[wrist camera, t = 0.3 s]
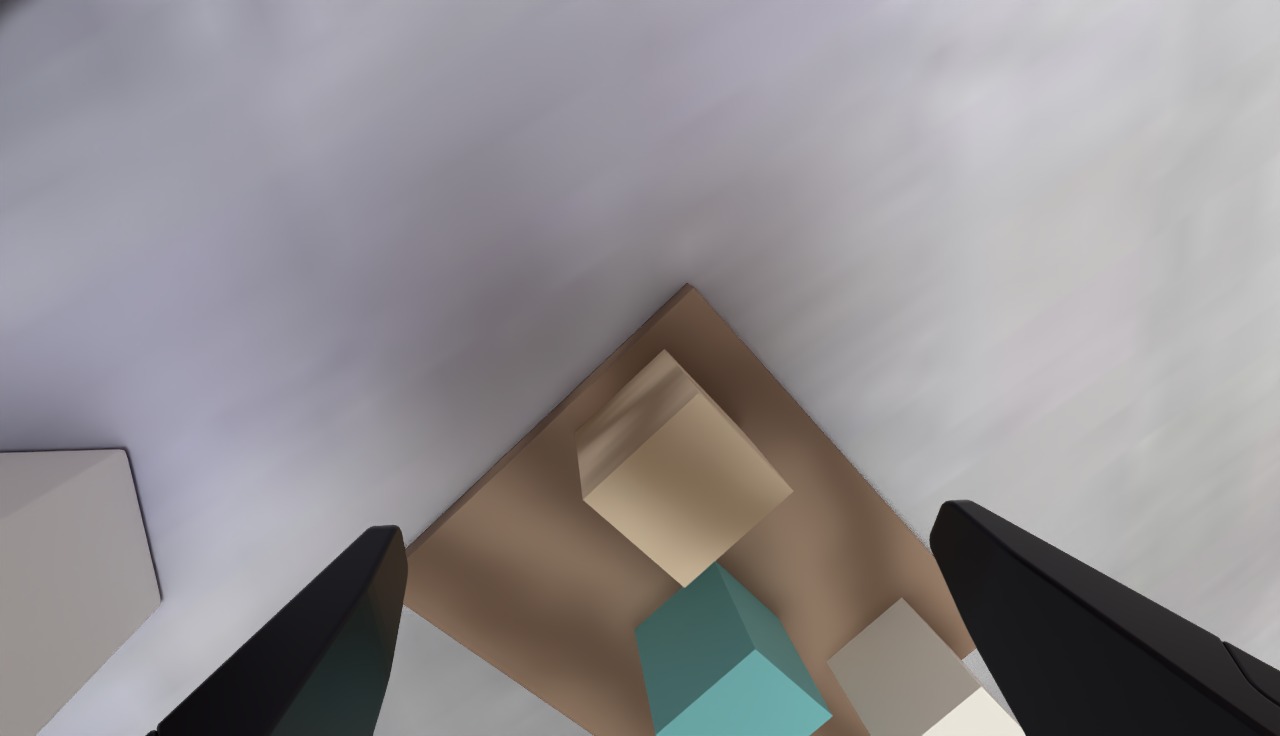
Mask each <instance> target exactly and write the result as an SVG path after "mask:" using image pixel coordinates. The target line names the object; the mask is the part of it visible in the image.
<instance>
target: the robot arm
mask: <svg viewBox="0 0 1280 736" xmlns="http://www.w3.org/2000/svg"><path fill="white" fill-rule="evenodd" d="M929 540H930V547H931V550H932V553H933V555H934V557H935V559H936V562H937V564H938V566H939V568H940V571H941V573H942V575H943V577H944V580H945V582H946V584H947V586H948V589H949V591H950V593H951V596H952V598H953V600H954V602H955V605H956V607H957V609H958V611H959V614H960V616H961V618H962V620H963V622H964V624H965V626H966V629H967V631H968V633H969V635H970V637H971V638H972V640H973V642H974V644H975V646H976V648H977V650H978V651H979V653H980V655H981V657H982V658H983V660H984V662H985V664H986V666H987V667H988V669H989V671H990V673H991V674H992V676H993V678H994V680H995V682H996V683H997V685H998V687H999V689H1000V691H1001V692H1002V694H1003V696H1004V698H1005V699H1006V701H1007V703H1008V705H1009V707H1010V708H1011V710H1012V712H1013V714H1014V715H1015V717H1016V719H1017V721H1018V723H1019V724H1020V726H1021V728H1022V730H1023V732H1024V733H1025V735H1026V736H1280V671H1279V670H1277V669H1275V668H1273V667H1272V666H1270V665H1268V664H1266V663H1264V662H1262V661H1261V660H1259V659H1257V658H1255V657H1253V656H1251V655H1250V654H1248V653H1246V652H1244V651H1242V650H1241V649H1239V648H1237V647H1235V646H1233V645H1232V644H1230V643H1228V642H1225V641H1223V642H1222V641H1221V640H1220V638H1219V637H1217V636H1215V635H1213V634H1212V633H1210V632H1208V631H1206V630H1204V629H1203V628H1201V627H1199V626H1197V625H1195V624H1193V623H1192V622H1190V621H1188V620H1186V619H1184V618H1183V617H1181V616H1179V615H1177V614H1175V613H1174V612H1172V611H1170V610H1168V609H1166V608H1165V607H1163V606H1161V605H1159V604H1157V603H1155V602H1154V601H1152V600H1150V599H1148V598H1146V597H1145V596H1143V595H1141V594H1139V593H1137V592H1136V591H1134V590H1132V589H1130V588H1128V587H1127V586H1125V585H1123V584H1121V583H1119V582H1117V581H1116V580H1114V579H1112V578H1110V577H1108V576H1107V575H1105V574H1103V573H1101V572H1099V571H1098V570H1096V569H1094V568H1092V567H1090V566H1089V565H1087V564H1085V563H1083V562H1081V561H1079V560H1078V559H1076V558H1074V557H1072V556H1070V555H1069V554H1067V553H1065V552H1063V551H1061V550H1060V549H1058V548H1056V547H1054V546H1052V545H1051V544H1049V543H1047V542H1045V541H1043V540H1042V539H1040V538H1038V537H1036V536H1034V535H1032V534H1031V533H1029V532H1027V531H1025V530H1023V529H1022V528H1020V527H1018V526H1016V525H1014V524H1013V523H1011V522H1009V521H1007V520H1005V519H1004V518H1002V517H1000V516H998V515H996V514H995V513H993V512H991V511H989V510H987V509H985V508H984V507H982V506H980V505H978V504H976V503H975V502H973V501H970V500H950V501H946V502H945V503H944V504H942V506H941V508H940V510H939V513H938V515H937V518H936V521H935V523H934V526H933V528H932V531H931V533H930V539H929ZM407 578H408V561H407V556H406V551H405V547H404V542H403V537H402V532H401V530H400V528H399V527H398V526H396V525H386V526H373V527H370V528H368V529H367V530H366V531H365V532H364V533H363V534H362V535H360V536H359V537H358V538H357V539H356V540H355V541H354V542H353V543H352V544H351V545H350V546H349V547H348V548H347V549H345V550H344V551H343V552H342V553H341V554H340V555H339V556H338V557H337V558H336V559H335V560H334V561H333V562H331V563H330V564H329V565H328V566H327V567H326V568H325V569H324V570H323V571H322V572H321V573H320V574H319V575H318V576H316V577H315V578H314V579H313V580H312V581H311V582H310V583H309V584H308V585H307V586H306V587H305V588H304V589H303V590H301V591H300V592H299V593H298V594H297V595H296V596H295V597H294V598H293V599H292V600H291V601H290V602H289V603H288V604H286V605H285V606H284V607H283V608H282V609H281V610H280V611H279V612H278V613H277V614H276V615H275V616H274V617H273V618H271V619H270V620H269V621H268V622H267V623H266V624H265V625H264V626H263V627H262V628H261V629H260V630H259V631H258V632H256V633H255V634H254V635H253V636H252V637H251V638H250V639H249V640H248V641H247V642H246V643H245V644H244V645H243V646H241V647H240V648H239V649H238V650H237V651H236V652H235V653H234V654H233V655H232V656H231V657H230V658H229V659H228V660H226V661H225V662H224V663H223V664H222V665H221V666H220V667H219V668H218V669H217V670H216V671H215V672H214V673H213V674H211V675H210V676H209V677H208V678H207V679H206V680H205V681H204V682H203V683H202V684H201V685H200V686H199V687H198V688H196V689H195V690H194V691H193V692H192V693H191V694H190V695H189V696H188V697H187V698H186V699H185V700H184V701H183V702H181V703H180V704H179V705H178V706H177V707H176V708H175V709H174V710H173V711H172V712H171V713H170V714H169V715H168V716H166V717H165V718H164V719H163V720H162V721H161V722H160V723H159V724H158V726H157V731H156V730H152V731H150V732H149V733H148V734H147V735H146V736H373V733H374V730H375V726H376V723H377V719H378V716H379V713H380V709H381V706H382V703H383V699H384V696H385V692H386V689H387V685H388V681H389V677H390V672H391V667H392V662H393V657H394V651H395V646H396V640H397V635H398V629H399V623H400V618H401V612H402V607H403V601H404V595H405V590H406V584H407Z"/></svg>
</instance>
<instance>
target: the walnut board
mask: <svg viewBox="0 0 1280 736" xmlns="http://www.w3.org/2000/svg"><path fill="white" fill-rule="evenodd" d="M664 349H665V350H666V351H667V352H668V353H669V354H670V355H671V356H672V357H673V358H674V359H675V360H676V361H677V362H678V363H679V365H680V366H681V367H682V368H683V369H684V370H685V371H686V372H687V373H688V374H689V375H690V376H691V377H692V378H693V379H694V380H695V381H696V382H697V383H698V384H699V385H700V386H701V388H702V389H703V390H704V391H705V392H706V393H707V394H708V395H709V396H710V397H711V398H712V399H713V400H714V401H715V402H716V403H717V404H718V405H719V406H720V407H721V408H722V410H723V411H724V412H725V413H726V414H727V415H728V416H729V417H730V418H731V419H732V420H733V421H734V422H735V423H736V424H737V425H738V426H739V427H740V428H741V429H742V431H743V432H744V433H745V434H746V435H747V437H748V438H749V439H750V440H751V441H752V442H753V444H754V445H755V446H756V447H757V448H758V450H759V451H760V452H761V453H762V454H763V455H764V457H765V458H766V459H767V460H768V461H769V463H770V464H771V465H772V466H773V467H774V468H775V470H776V471H777V472H778V473H779V474H780V476H781V477H782V478H783V479H784V480H785V481H786V483H787V484H788V485H789V486H790V487H791V489H792V490H793V491H794V492H792V493H791V494H790V495H789V496H788V497H787V498H786V499H784V500H783V501H782V502H781V503H780V504H779V505H778V506H777V507H775V508H774V509H773V510H772V511H771V512H770V513H769V514H768V515H766V516H765V517H764V518H763V519H762V520H761V521H760V522H759V523H757V524H756V525H755V526H754V527H753V528H752V529H751V530H749V531H748V532H747V533H746V534H745V535H744V536H743V537H742V538H740V539H739V540H738V541H737V542H736V543H735V544H734V545H733V546H731V547H730V548H729V549H728V550H727V551H726V552H725V553H724V554H722V555H721V556H720V557H719V558H718V559H717V560H716V562H717V563H718V564H720V565H721V566H722V567H723V568H724V569H725V570H726V571H727V572H728V573H729V574H731V575H732V576H733V577H734V578H735V579H736V580H737V581H738V582H739V583H740V584H742V585H743V586H744V587H745V588H746V589H747V590H748V591H749V592H750V593H751V594H753V595H754V596H755V597H756V598H757V599H758V600H759V601H760V602H761V603H762V604H763V605H765V606H766V607H767V608H768V609H769V610H770V611H771V612H772V613H773V614H774V615H776V616H777V617H778V618H779V620H780V621H781V623H782V625H783V627H784V629H785V630H786V632H787V634H788V636H789V638H790V639H791V641H792V643H793V645H794V647H795V649H796V650H797V652H798V654H799V656H800V658H801V659H802V661H803V663H804V665H805V667H806V668H807V670H808V672H809V674H810V676H811V677H812V679H813V681H814V683H815V685H816V686H817V688H818V690H819V692H820V694H821V696H822V697H823V699H824V701H825V703H826V705H827V706H828V708H829V710H830V712H831V714H832V715H833V716H832V717H831V718H830V719H829V720H828V721H826V722H825V723H824V724H823V725H822V726H820V727H819V728H818V729H817V730H816V731H814V732H813V733H812V734H811V735H810V736H870V733H869V732H868V730H867V728H866V727H865V725H864V724H863V722H862V720H861V719H860V717H859V715H858V714H857V712H856V710H855V709H854V707H853V705H852V704H851V702H850V700H849V699H848V697H847V695H846V694H845V692H844V690H843V689H842V687H841V685H840V684H839V682H838V680H837V679H836V677H835V675H834V674H833V672H832V671H831V669H830V667H829V666H828V664H827V662H826V661H827V660H828V659H830V658H831V657H832V656H833V655H834V654H836V653H837V652H838V651H839V650H840V649H841V648H843V647H844V646H845V645H846V644H847V643H849V642H850V641H851V640H852V639H853V638H854V637H856V636H857V635H858V634H859V633H860V632H862V631H863V630H864V629H865V628H866V627H867V626H869V625H870V624H871V623H872V622H873V621H874V620H876V619H877V618H878V617H879V616H880V615H882V614H883V613H884V612H885V611H886V610H887V609H889V608H890V607H891V606H892V605H893V604H895V603H896V602H897V601H898V600H899V599H900V598H903V599H904V600H905V601H906V602H907V603H908V604H909V605H910V606H911V607H912V608H913V609H914V611H915V612H916V613H917V614H918V615H919V616H920V617H921V618H922V619H923V620H924V621H925V622H926V623H927V624H928V625H929V626H930V627H931V628H932V629H933V630H934V631H935V633H936V634H937V635H938V636H939V637H940V638H941V639H942V640H943V641H944V642H945V643H946V644H947V645H948V646H949V647H950V648H951V649H952V650H953V651H954V653H955V654H956V655H957V656H958V657H959V658H960V659H961V660H962V659H963V658H965V657H966V656H967V655H968V654H969V653H971V652H972V651H973V650H974V649H976V646H975V644H974V642H973V640H972V638H971V637H970V635H969V633H968V631H967V629H966V626H965V624H964V622H963V620H962V618H961V616H960V614H959V611H958V609H957V607H956V605H955V602H954V600H953V598H952V596H951V593H950V591H949V589H948V586H947V584H946V582H945V580H944V577H943V575H942V573H941V571H940V568H939V566H938V564H937V562H936V559H935V558H934V557H933V555H932V554H931V553H930V552H929V551H928V550H927V549H926V548H925V546H924V545H923V544H922V543H921V542H920V541H919V540H918V539H917V537H916V536H915V535H914V534H913V533H912V532H911V531H910V530H909V528H908V527H907V526H906V525H905V524H904V523H903V522H902V521H901V519H900V518H899V517H898V516H897V515H896V514H895V513H894V512H893V510H892V509H891V508H890V507H889V506H888V505H887V504H886V503H885V501H884V500H883V499H882V498H881V497H880V496H879V495H878V494H877V492H876V491H875V490H874V489H873V488H872V487H871V486H870V485H869V483H868V482H867V481H866V480H865V479H864V478H863V477H862V476H861V474H860V473H859V472H858V471H857V470H856V469H855V468H854V467H853V465H852V464H851V463H850V462H849V461H848V460H847V459H846V458H845V456H844V455H843V454H842V453H841V452H840V451H839V450H838V449H837V447H836V446H835V445H834V444H833V443H832V442H831V441H830V440H829V438H828V437H827V436H826V435H825V434H824V433H823V432H822V431H821V429H820V428H819V427H818V426H817V425H816V424H815V423H814V422H813V420H812V419H811V418H810V417H809V416H808V415H807V414H806V413H805V411H804V410H803V409H802V408H801V407H800V406H799V405H798V404H797V402H796V401H795V400H794V399H793V398H792V397H791V396H790V395H789V393H788V392H787V391H786V390H785V389H784V388H783V387H782V386H781V384H780V383H779V382H778V381H777V380H776V379H775V378H774V377H773V375H772V374H771V373H770V372H769V371H768V370H767V369H766V368H765V366H764V365H763V364H762V363H761V362H760V361H759V360H758V359H757V357H756V356H755V355H754V354H753V353H752V352H751V351H750V350H749V348H748V347H747V346H746V345H745V344H744V343H743V342H742V341H741V339H740V338H739V337H738V336H737V335H736V334H735V333H734V332H733V330H732V329H731V328H730V327H729V326H728V325H727V324H726V323H725V321H724V320H723V319H722V318H721V317H720V316H719V315H718V314H717V312H716V311H715V310H714V309H713V308H712V307H711V306H710V305H709V303H708V302H707V301H706V300H705V299H704V298H703V297H702V296H701V294H700V293H699V292H698V291H697V290H696V289H695V288H694V287H693V286H691V285H689V284H688V283H687V284H686V285H685V286H684V287H683V288H682V289H681V290H680V291H679V292H678V293H676V294H675V295H674V296H673V297H672V298H671V299H670V300H669V301H668V302H667V303H666V304H665V305H664V306H663V307H662V308H661V309H660V310H658V311H657V312H656V313H655V314H654V315H653V316H652V317H651V318H650V319H649V320H648V321H647V322H646V323H645V324H644V325H643V326H642V327H640V328H639V329H638V330H637V331H636V332H635V333H634V334H633V335H632V336H631V337H630V338H629V339H628V340H627V341H626V342H625V343H624V344H623V345H621V346H620V347H619V348H618V349H617V350H616V351H615V352H614V353H613V354H612V355H611V356H610V357H609V358H608V359H607V360H606V361H605V362H603V363H602V364H601V365H600V366H599V367H598V368H597V369H596V370H595V371H594V372H593V373H592V374H591V375H590V376H589V377H588V378H587V379H586V380H584V381H583V382H582V383H581V384H580V385H579V386H578V387H577V388H576V389H575V390H574V391H573V392H572V393H571V394H570V395H569V396H568V397H566V398H565V399H564V400H563V401H562V402H561V403H560V404H559V405H558V406H557V407H556V408H555V409H554V410H553V411H552V412H551V413H550V414H548V415H547V416H546V417H545V418H544V419H543V420H542V421H541V422H540V423H539V424H538V425H537V426H536V427H535V428H534V429H533V430H532V431H531V432H529V433H528V434H527V435H526V436H525V437H524V438H523V439H522V440H521V441H520V442H519V443H518V444H517V445H516V446H515V447H514V448H513V449H511V450H510V451H509V452H508V453H507V454H506V455H505V456H504V457H503V458H502V459H501V460H500V461H499V462H498V463H497V464H496V465H495V466H493V467H492V468H491V469H490V470H489V471H488V472H487V473H486V474H485V475H484V476H483V477H482V478H481V479H480V480H479V481H478V482H477V483H476V484H474V485H473V486H472V487H471V488H470V489H469V490H468V491H467V492H466V493H465V494H464V495H463V496H462V497H461V498H460V499H459V500H458V501H456V502H455V503H454V504H453V505H452V506H451V507H450V508H449V509H448V510H447V511H446V512H445V513H444V514H443V515H442V516H441V517H440V518H438V519H437V520H436V521H435V522H434V523H433V524H432V525H431V526H430V527H429V528H428V529H427V530H426V531H425V532H424V533H423V534H422V535H421V536H419V537H418V538H417V539H416V540H415V541H414V542H413V543H412V544H411V545H410V546H409V547H408V548H407V549H406V550H405V551H406V556H407V561H408V578H407V584H406V590H405V595H404V601H403V604H404V605H405V606H407V607H408V608H410V609H411V610H413V611H414V612H416V613H417V614H419V615H420V616H421V617H423V618H424V619H426V620H427V621H429V622H430V623H432V624H433V625H434V626H436V627H437V628H439V629H440V630H442V631H443V632H445V633H446V634H447V635H449V636H450V637H452V638H453V639H455V640H456V641H458V642H459V643H461V644H462V645H463V646H465V647H466V648H468V649H469V650H471V651H472V652H474V653H475V654H476V655H478V656H479V657H481V658H482V659H484V660H485V661H487V662H488V663H490V664H491V665H492V666H494V667H495V668H497V669H498V670H500V671H501V672H503V673H504V674H505V675H507V676H508V677H510V678H511V679H513V680H514V681H516V682H517V683H519V684H520V685H521V686H523V687H524V688H526V689H527V690H529V691H530V692H532V693H533V694H534V695H536V696H537V697H539V698H540V699H542V700H543V701H545V702H546V703H548V704H549V705H550V706H552V707H553V708H555V709H556V710H558V711H559V712H561V713H562V714H563V715H565V716H566V717H568V718H569V719H571V720H572V721H574V722H575V723H577V724H578V725H579V726H581V727H582V728H584V729H585V730H587V731H588V732H590V733H591V734H592V735H594V736H656V735H655V730H654V725H653V720H652V715H651V710H650V705H649V700H648V695H647V690H646V686H645V681H644V676H643V671H642V666H641V661H640V656H639V651H638V646H637V641H636V636H635V631H634V630H635V629H636V628H637V627H638V626H639V625H640V624H641V623H642V622H644V621H645V620H646V619H647V618H648V617H649V616H650V615H651V614H653V613H654V612H655V611H656V610H657V609H658V608H659V607H661V606H662V605H663V604H664V603H665V602H666V601H667V600H668V599H670V598H671V597H672V596H673V595H674V594H675V593H676V592H677V591H679V590H680V589H681V588H682V587H683V586H682V585H681V584H680V583H678V582H677V581H676V580H675V579H674V578H673V577H672V576H670V575H669V574H668V573H667V572H666V571H665V570H663V569H662V568H661V567H660V566H659V565H658V564H657V563H655V562H654V561H653V560H652V559H651V558H650V557H648V556H647V555H646V554H645V553H644V552H643V551H641V550H640V549H639V548H638V547H637V546H636V545H635V544H633V543H632V542H631V541H630V540H629V539H628V538H626V537H625V536H624V535H623V534H622V533H621V532H620V531H618V530H617V529H616V528H615V527H614V526H613V525H611V524H610V523H609V522H608V521H607V520H606V519H605V518H603V517H602V516H601V515H600V514H599V513H598V512H596V511H595V510H594V509H593V508H592V507H591V506H589V505H588V504H587V503H586V502H585V501H584V500H583V497H582V489H581V480H580V472H579V463H578V455H577V446H576V438H575V432H576V431H577V430H578V429H579V428H580V427H581V426H583V425H584V424H585V423H586V422H587V421H588V420H589V419H590V418H591V417H592V416H593V415H594V414H595V413H596V412H598V411H599V410H600V409H601V408H602V407H603V406H604V405H605V404H606V403H607V402H608V401H609V400H610V399H611V398H612V397H614V396H615V395H616V394H617V393H618V392H619V391H620V390H621V389H622V388H623V387H624V386H625V385H626V384H627V383H628V382H630V381H631V380H632V379H633V378H634V377H635V376H636V375H637V374H638V373H639V372H640V371H641V370H642V369H643V368H644V367H646V366H647V365H648V364H649V363H650V362H651V361H652V360H653V359H654V358H655V357H656V356H657V355H658V354H659V353H660V352H662V351H663V350H664Z"/></svg>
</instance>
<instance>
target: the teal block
mask: <svg viewBox="0 0 1280 736" xmlns="http://www.w3.org/2000/svg"><path fill="white" fill-rule="evenodd" d="M634 631H635V636H636V641H637V646H638V651H639V656H640V661H641V666H642V671H643V676H644V681H645V686H646V690H647V695H648V700H649V705H650V710H651V715H652V720H653V725H654V730H655V735H656V736H810V735H811V734H812V733H813V732H814V731H816V730H817V729H818V728H819V727H820V726H822V725H823V724H824V723H825V722H826V721H828V720H829V719H830V718H831V717H832V716H833V715H832V714H831V712H830V710H829V708H828V706H827V705H826V703H825V701H824V699H823V697H822V696H821V694H820V692H819V690H818V688H817V686H816V685H815V683H814V681H813V679H812V677H811V676H810V674H809V672H808V670H807V668H806V667H805V665H804V663H803V661H802V659H801V658H800V656H799V654H798V652H797V650H796V649H795V647H794V645H793V643H792V641H791V639H790V638H789V636H788V634H787V632H786V630H785V629H784V627H783V625H782V623H781V621H780V620H779V618H778V617H777V616H776V615H774V614H773V613H772V612H771V611H770V610H769V609H768V608H767V607H766V606H765V605H763V604H762V603H761V602H760V601H759V600H758V599H757V598H756V597H755V596H754V595H753V594H751V593H750V592H749V591H748V590H747V589H746V588H745V587H744V586H743V585H742V584H740V583H739V582H738V581H737V580H736V579H735V578H734V577H733V576H732V575H731V574H729V573H728V572H727V571H726V570H725V569H724V568H723V567H722V566H721V565H720V564H718V563H717V562H716V561H714V562H713V563H712V564H711V565H710V566H709V567H708V568H707V569H705V570H704V571H703V572H702V573H701V574H700V575H699V576H698V577H696V578H695V579H694V580H693V581H692V582H691V583H690V584H689V585H687V586H686V587H685V588H684V587H682V588H681V589H680V590H679V591H677V592H676V593H675V594H674V595H673V596H672V597H671V598H670V599H668V600H667V601H666V602H665V603H664V604H663V605H662V606H661V607H659V608H658V609H657V610H656V611H655V612H654V613H653V614H651V615H650V616H649V617H648V618H647V619H646V620H645V621H644V622H642V623H641V624H640V625H639V626H638V627H637V628H636V629H635V630H634Z"/></svg>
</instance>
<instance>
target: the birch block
mask: <svg viewBox="0 0 1280 736" xmlns="http://www.w3.org/2000/svg"><path fill="white" fill-rule="evenodd" d="M575 438H576V446H577V455H578V463H579V472H580V480H581V489H582V497H583V500H584V501H585V502H586V503H587V504H588V505H589V506H591V507H592V508H593V509H594V510H595V511H596V512H598V513H599V514H600V515H601V516H602V517H603V518H605V519H606V520H607V521H608V522H609V523H610V524H611V525H613V526H614V527H615V528H616V529H617V530H618V531H620V532H621V533H622V534H623V535H624V536H625V537H626V538H628V539H629V540H630V541H631V542H632V543H633V544H635V545H636V546H637V547H638V548H639V549H640V550H641V551H643V552H644V553H645V554H646V555H647V556H648V557H650V558H651V559H652V560H653V561H654V562H655V563H657V564H658V565H659V566H660V567H661V568H662V569H663V570H665V571H666V572H667V573H668V574H669V575H670V576H672V577H673V578H674V579H675V580H676V581H677V582H678V583H680V584H681V585H682V586H683V587H684V588H685V587H686V586H687V585H689V584H690V583H691V582H692V581H693V580H694V579H695V578H696V577H698V576H699V575H700V574H701V573H702V572H703V571H704V570H705V569H707V568H708V567H709V566H710V565H711V564H712V563H713V562H714V561H716V560H717V559H718V558H719V557H720V556H721V555H722V554H724V553H725V552H726V551H727V550H728V549H729V548H730V547H731V546H733V545H734V544H735V543H736V542H737V541H738V540H739V539H740V538H742V537H743V536H744V535H745V534H746V533H747V532H748V531H749V530H751V529H752V528H753V527H754V526H755V525H756V524H757V523H759V522H760V521H761V520H762V519H763V518H764V517H765V516H766V515H768V514H769V513H770V512H771V511H772V510H773V509H774V508H775V507H777V506H778V505H779V504H780V503H781V502H782V501H783V500H784V499H786V498H787V497H788V496H789V495H790V494H791V493H792V492H794V491H793V490H792V489H791V487H790V486H789V485H788V484H787V483H786V481H785V480H784V479H783V478H782V477H781V476H780V474H779V473H778V472H777V471H776V470H775V468H774V467H773V466H772V465H771V464H770V463H769V461H768V460H767V459H766V458H765V457H764V455H763V454H762V453H761V452H760V451H759V450H758V448H757V447H756V446H755V445H754V444H753V442H752V441H751V440H750V439H749V438H748V437H747V435H746V434H745V433H744V432H743V431H742V429H741V428H740V427H739V426H738V425H737V424H736V423H735V422H734V421H733V420H732V419H731V418H730V417H729V416H728V415H727V414H726V413H725V412H724V411H723V410H722V408H721V407H720V406H719V405H718V404H717V403H716V402H715V401H714V400H713V399H712V398H711V397H710V396H709V395H708V394H707V393H706V392H705V391H704V390H703V389H702V388H701V386H700V385H699V384H698V383H697V382H696V381H695V380H694V379H693V378H692V377H691V376H690V375H689V374H688V373H687V372H686V371H685V370H684V369H683V368H682V367H681V366H680V365H679V363H678V362H677V361H676V360H675V359H674V358H673V357H672V356H671V355H670V354H669V353H668V352H667V351H666V350H665V349H664V350H663V351H662V352H660V353H659V354H658V355H657V356H656V357H655V358H654V359H653V360H652V361H651V362H650V363H649V364H648V365H647V366H646V367H644V368H643V369H642V370H641V371H640V372H639V373H638V374H637V375H636V376H635V377H634V378H633V379H632V380H631V381H630V382H628V383H627V384H626V385H625V386H624V387H623V388H622V389H621V390H620V391H619V392H618V393H617V394H616V395H615V396H614V397H612V398H611V399H610V400H609V401H608V402H607V403H606V404H605V405H604V406H603V407H602V408H601V409H600V410H599V411H598V412H596V413H595V414H594V415H593V416H592V417H591V418H590V419H589V420H588V421H587V422H586V423H585V424H584V425H583V426H581V427H580V428H579V429H578V430H577V431H576V432H575Z"/></svg>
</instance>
